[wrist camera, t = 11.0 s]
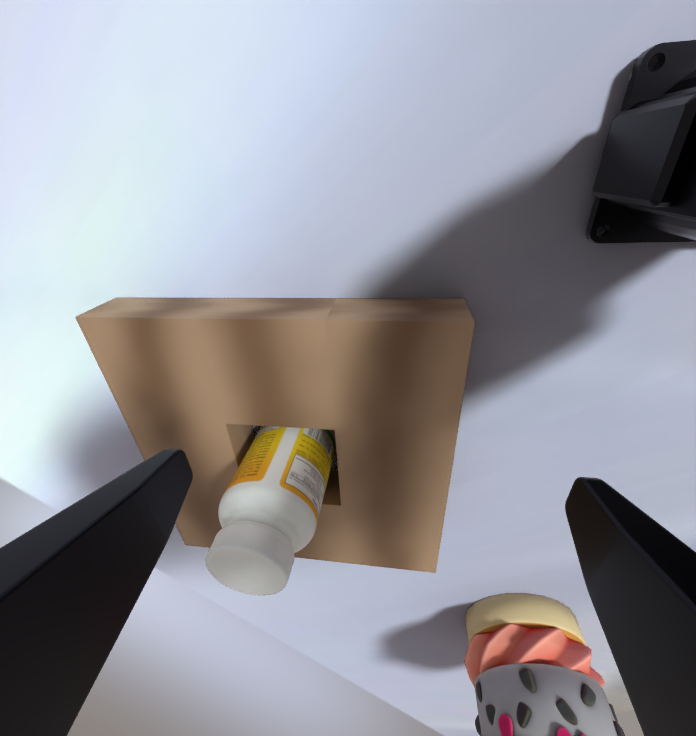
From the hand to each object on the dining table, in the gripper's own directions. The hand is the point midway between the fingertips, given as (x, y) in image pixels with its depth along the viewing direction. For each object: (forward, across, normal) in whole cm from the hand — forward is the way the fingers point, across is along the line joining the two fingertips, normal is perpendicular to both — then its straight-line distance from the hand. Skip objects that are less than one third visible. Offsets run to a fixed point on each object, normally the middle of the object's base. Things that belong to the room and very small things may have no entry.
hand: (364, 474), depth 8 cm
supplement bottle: (+12, +6, +10) cm, 17 cm away
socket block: (+12, +6, +10) cm, 17 cm away
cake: (+12, -13, +32) cm, 37 cm away
